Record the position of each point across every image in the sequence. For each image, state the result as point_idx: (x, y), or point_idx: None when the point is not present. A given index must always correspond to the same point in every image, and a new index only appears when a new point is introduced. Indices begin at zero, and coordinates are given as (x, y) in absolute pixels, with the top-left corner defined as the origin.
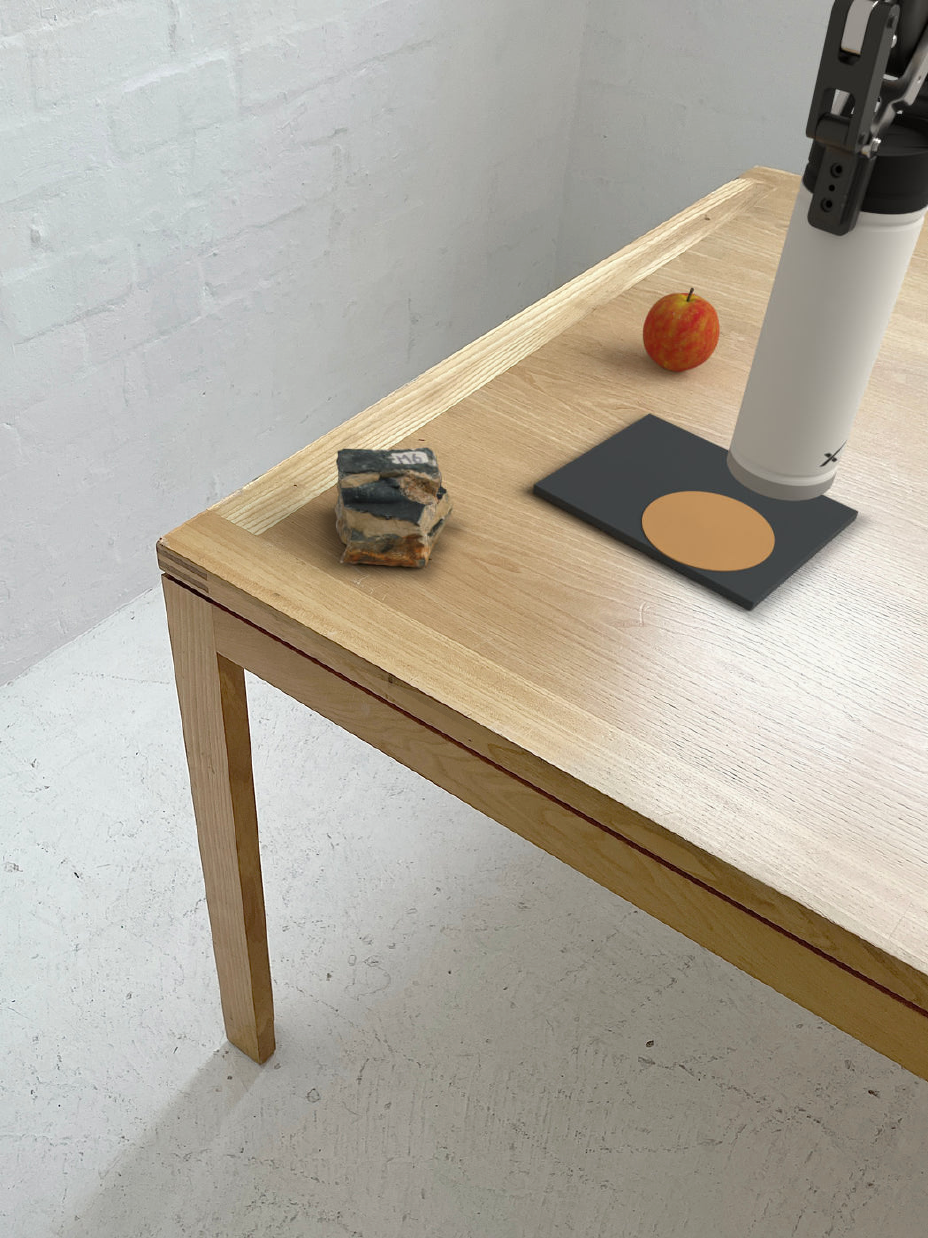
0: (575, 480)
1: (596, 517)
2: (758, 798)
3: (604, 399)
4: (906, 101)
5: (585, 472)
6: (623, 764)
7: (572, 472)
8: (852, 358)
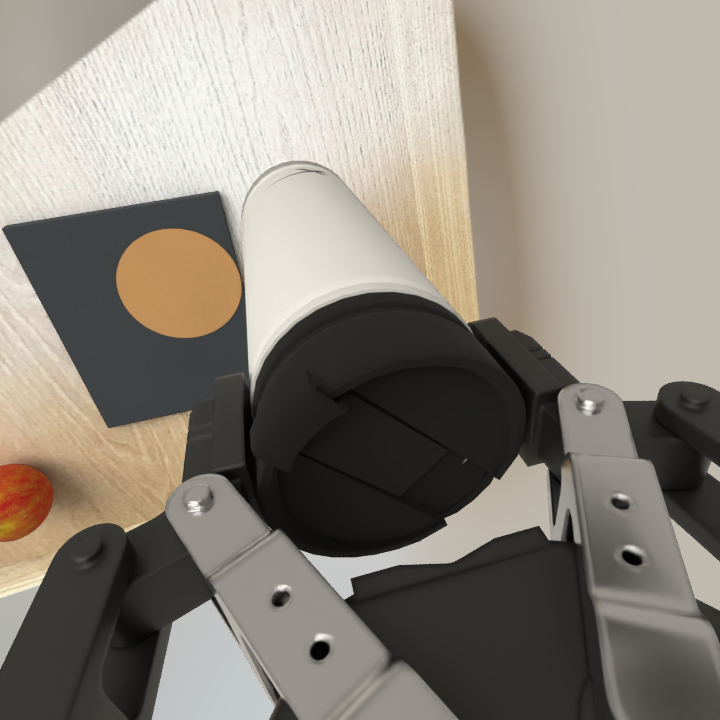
0: None
1: None
2: (386, 27)
3: (126, 458)
4: (612, 456)
5: None
6: (434, 129)
7: None
8: (359, 211)
